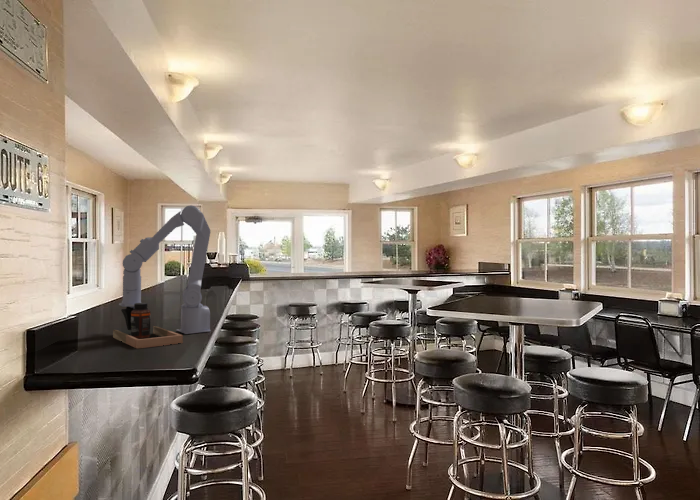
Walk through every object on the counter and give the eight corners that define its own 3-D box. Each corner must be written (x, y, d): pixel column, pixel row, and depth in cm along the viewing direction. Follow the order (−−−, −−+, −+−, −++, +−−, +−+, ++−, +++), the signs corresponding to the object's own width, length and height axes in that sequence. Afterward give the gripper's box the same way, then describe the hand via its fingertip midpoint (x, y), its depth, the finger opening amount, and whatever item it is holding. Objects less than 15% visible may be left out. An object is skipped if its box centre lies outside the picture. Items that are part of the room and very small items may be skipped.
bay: (155, 333, 176) (156, 326, 176) (182, 343, 161) (182, 335, 160) (113, 337, 167) (113, 329, 167) (136, 348, 151) (137, 340, 151)
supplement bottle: (153, 336, 171) (154, 302, 171) (144, 339, 165) (145, 304, 165) (136, 335, 171) (137, 301, 171) (127, 339, 165) (127, 303, 165)
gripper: (112, 288, 177) (112, 327, 177) (127, 292, 166) (126, 334, 166) (133, 287, 182) (133, 326, 182) (149, 291, 171) (148, 331, 171)
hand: (131, 329), depth 175 cm, fingers closed
